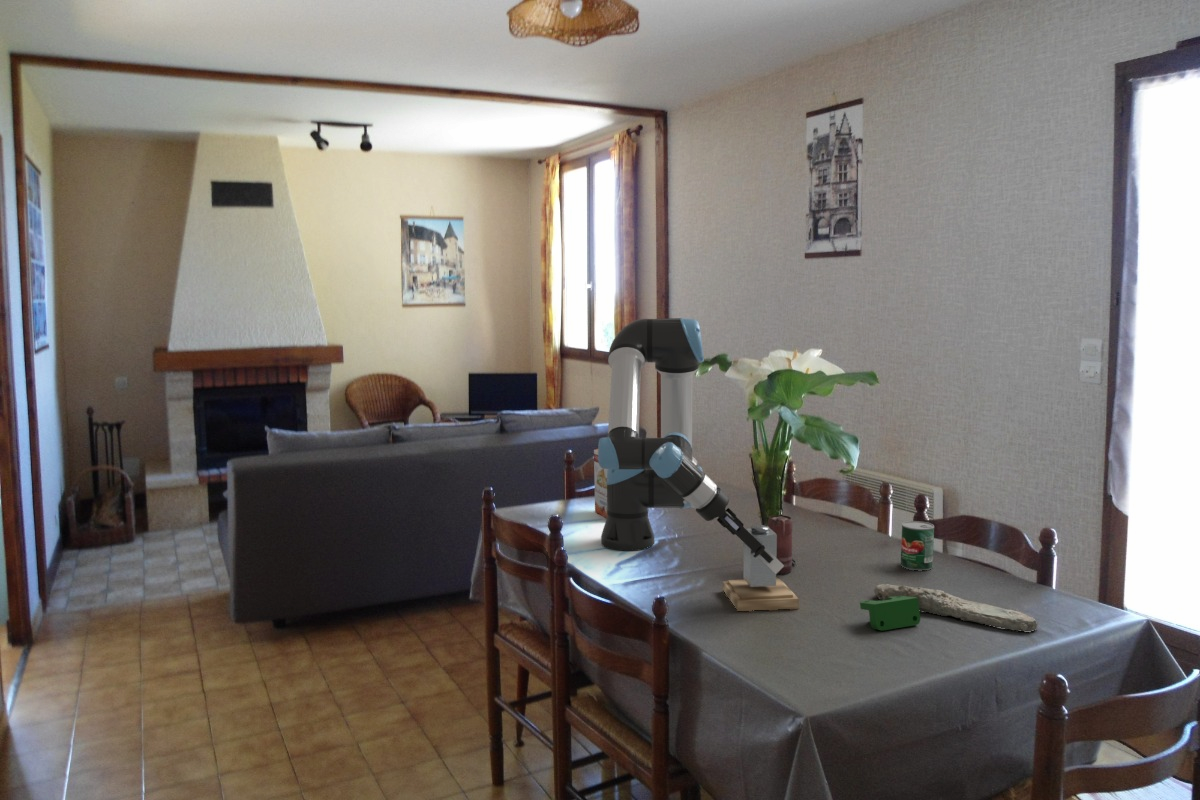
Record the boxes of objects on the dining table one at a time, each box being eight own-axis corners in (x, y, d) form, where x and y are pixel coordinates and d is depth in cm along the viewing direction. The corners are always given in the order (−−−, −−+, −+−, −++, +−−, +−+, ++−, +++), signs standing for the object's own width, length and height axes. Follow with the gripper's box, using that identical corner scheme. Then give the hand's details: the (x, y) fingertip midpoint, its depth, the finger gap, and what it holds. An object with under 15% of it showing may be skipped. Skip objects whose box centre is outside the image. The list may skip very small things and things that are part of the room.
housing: (743, 578, 210) (744, 524, 208) (768, 577, 211) (769, 523, 209) (750, 586, 204) (751, 531, 202) (776, 585, 205) (776, 530, 203)
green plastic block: (897, 638, 196) (906, 597, 198) (915, 642, 190) (924, 600, 192) (852, 623, 192) (861, 582, 195) (869, 626, 187) (878, 583, 189)
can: (774, 575, 225) (775, 521, 223) (763, 568, 231) (763, 515, 229) (796, 573, 227) (797, 519, 225) (784, 566, 233) (785, 513, 231)
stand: (722, 591, 214) (722, 579, 214) (779, 588, 216) (780, 576, 215) (737, 612, 200) (737, 599, 200) (798, 609, 202) (798, 596, 201)
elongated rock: (1028, 646, 184) (1041, 634, 191) (1031, 621, 183) (1044, 610, 191) (865, 600, 206) (883, 591, 214) (868, 578, 205) (885, 570, 213)
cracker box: (593, 512, 290) (592, 448, 288) (610, 510, 293) (609, 447, 290) (612, 522, 278) (611, 456, 275) (629, 520, 280) (629, 454, 278)
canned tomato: (897, 568, 230) (899, 526, 229) (903, 560, 237) (904, 519, 236) (930, 572, 226) (932, 530, 225) (934, 564, 233) (936, 523, 232)
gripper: (686, 500, 213) (752, 564, 217) (703, 520, 194) (776, 590, 198) (708, 477, 213) (774, 542, 217) (728, 495, 194) (800, 565, 198)
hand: (775, 564), depth 207 cm, fingers closed on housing, 6 cm apart
